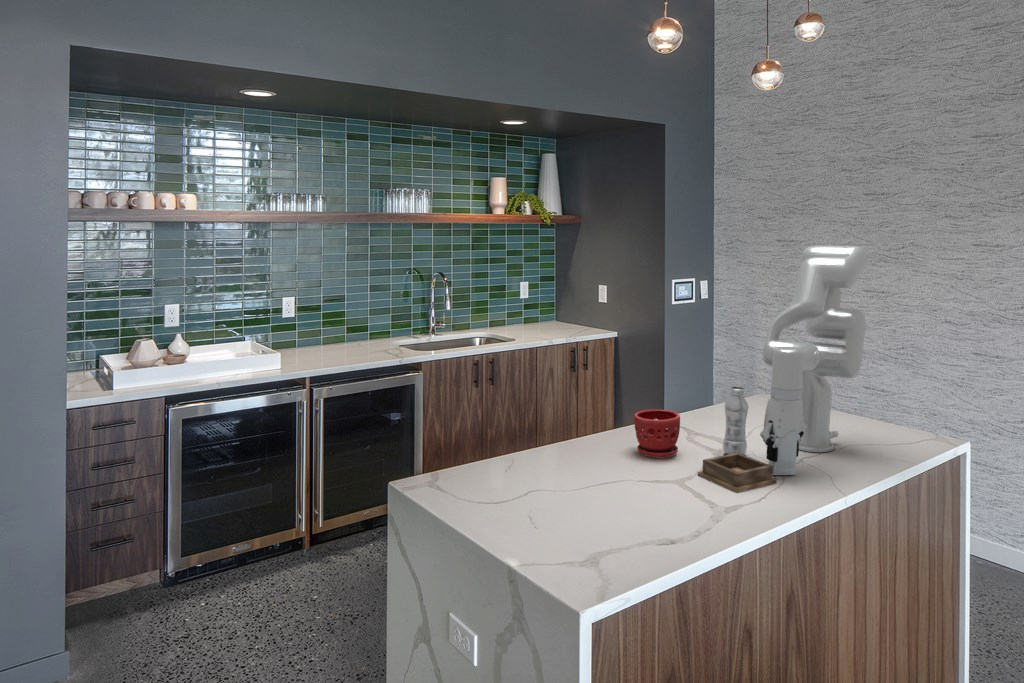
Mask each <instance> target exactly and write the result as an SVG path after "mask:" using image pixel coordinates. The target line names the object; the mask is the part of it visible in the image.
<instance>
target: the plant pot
mask: <svg viewBox="0 0 1024 683" xmlns="http://www.w3.org/2000/svg"><path fill="white" fill-rule="evenodd" d="M633 416H634V417H633V419H634V429H635V437H636V439H637V442H638V445H637V451H638V453H640V454H641V455H642V456H645V457H647V456H648V457H647V458H656V459H661V458H662V459H665V458H666V459H667V458H670V457H673V456H674V455H676V454H677V453H678V451H679V447H678V446H677V445H676V444H677V442H678V440H679V436H680V430H681V429H680V428H681V415H680V413H678V412H675V411H673V410H669V409H667V410H666V409H645V410H639V411H637V412H636V413H635V414H634V415H633Z"/></svg>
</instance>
